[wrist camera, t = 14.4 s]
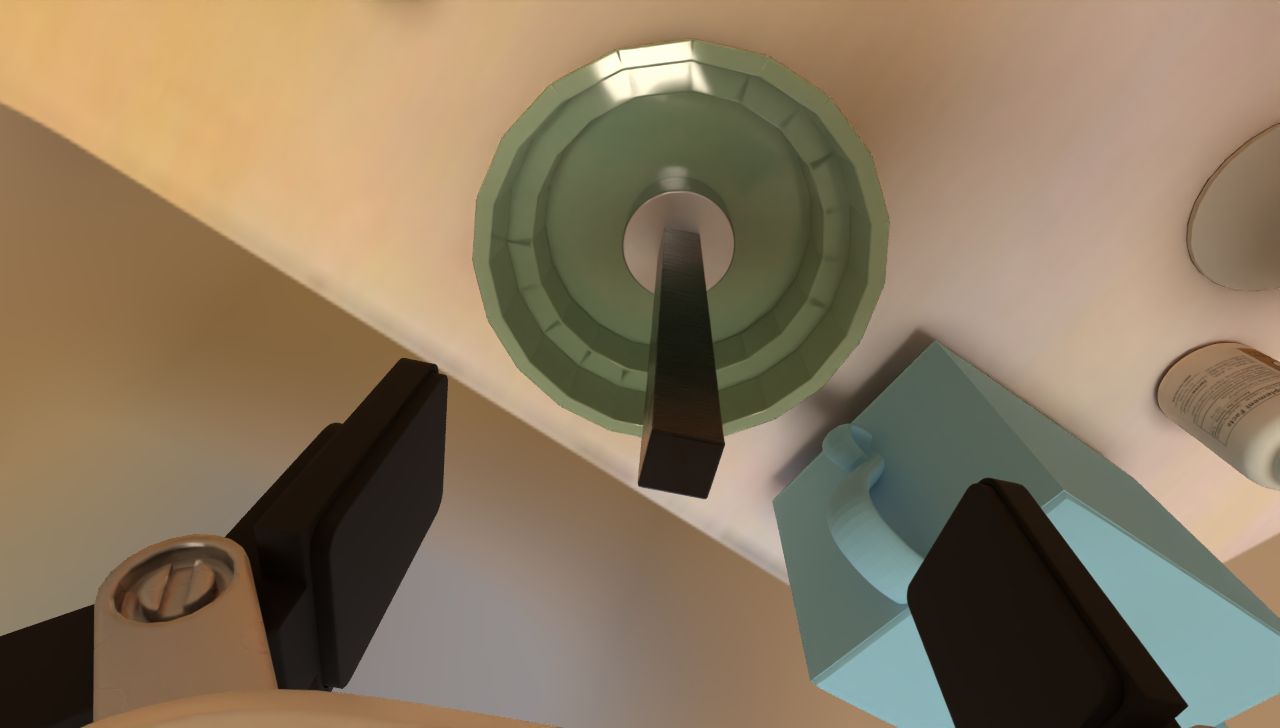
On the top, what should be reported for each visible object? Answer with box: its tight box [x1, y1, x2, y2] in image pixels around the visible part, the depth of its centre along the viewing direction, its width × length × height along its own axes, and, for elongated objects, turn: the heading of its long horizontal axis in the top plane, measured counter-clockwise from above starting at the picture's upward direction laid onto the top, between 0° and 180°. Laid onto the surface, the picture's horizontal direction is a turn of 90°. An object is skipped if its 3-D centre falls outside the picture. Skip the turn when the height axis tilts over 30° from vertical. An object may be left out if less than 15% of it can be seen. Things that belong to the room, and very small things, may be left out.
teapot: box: [773, 340, 1280, 728], centre depth 26 cm, size 22×11×14 cm, turn 57°
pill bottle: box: [1158, 343, 1280, 490], centre depth 25 cm, size 4×4×8 cm
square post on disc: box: [622, 177, 735, 499], centre depth 18 cm, size 4×4×16 cm
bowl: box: [472, 39, 890, 437], centre depth 24 cm, size 14×14×6 cm
